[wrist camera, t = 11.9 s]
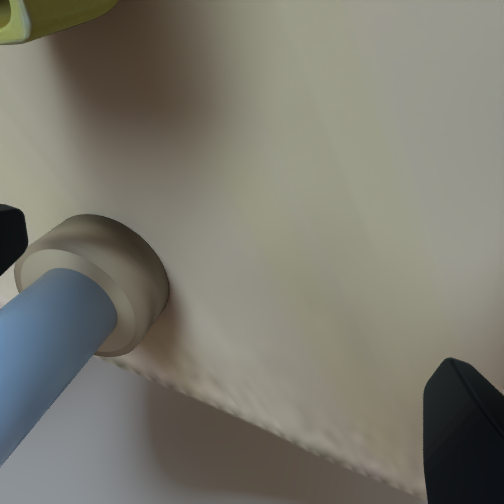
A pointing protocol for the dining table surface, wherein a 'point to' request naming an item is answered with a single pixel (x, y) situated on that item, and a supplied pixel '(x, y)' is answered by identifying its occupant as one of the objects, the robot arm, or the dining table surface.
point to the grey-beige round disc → (104, 272)
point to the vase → (47, 346)
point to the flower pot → (45, 17)
